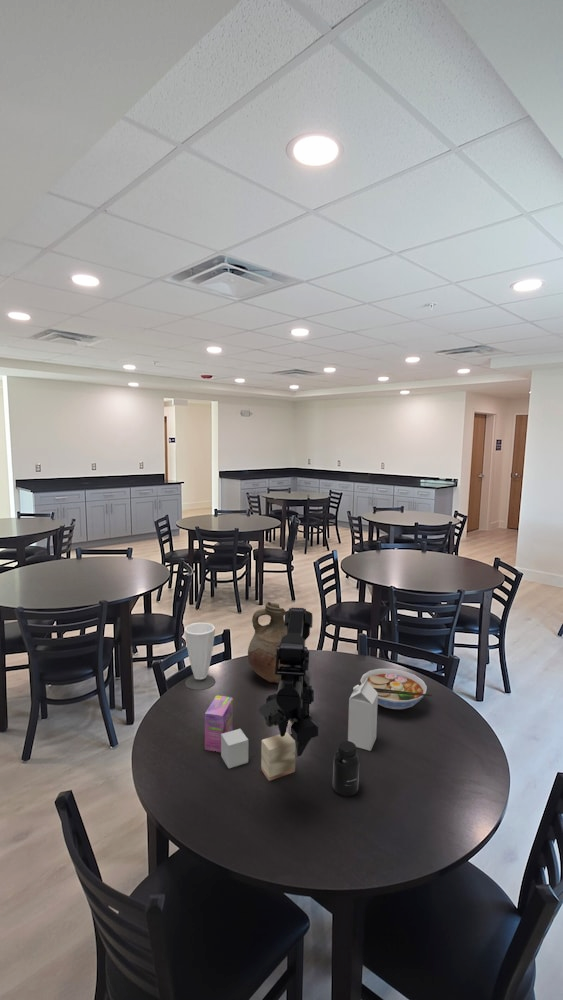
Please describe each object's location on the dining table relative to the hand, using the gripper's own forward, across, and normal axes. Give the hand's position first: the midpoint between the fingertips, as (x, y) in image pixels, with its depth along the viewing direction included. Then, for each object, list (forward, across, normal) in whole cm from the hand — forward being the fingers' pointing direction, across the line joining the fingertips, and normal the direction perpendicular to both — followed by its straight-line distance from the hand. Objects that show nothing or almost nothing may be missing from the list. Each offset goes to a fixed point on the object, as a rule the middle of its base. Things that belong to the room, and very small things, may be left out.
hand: (290, 745), depth 126 cm
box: (+12, -28, -10) cm, 32 cm away
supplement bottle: (+12, +6, +14) cm, 19 cm away
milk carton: (+12, -8, +29) cm, 33 cm away
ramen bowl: (+12, -21, +52) cm, 58 cm away
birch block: (+12, -8, 0) cm, 15 cm away
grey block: (+12, -18, -9) cm, 23 cm away
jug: (+12, -55, +23) cm, 61 cm away
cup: (+12, -65, -4) cm, 66 cm away
